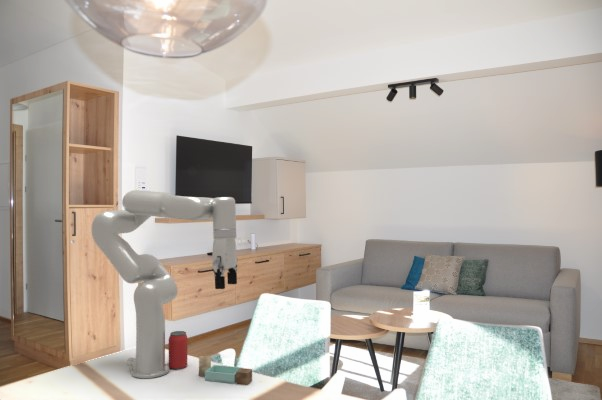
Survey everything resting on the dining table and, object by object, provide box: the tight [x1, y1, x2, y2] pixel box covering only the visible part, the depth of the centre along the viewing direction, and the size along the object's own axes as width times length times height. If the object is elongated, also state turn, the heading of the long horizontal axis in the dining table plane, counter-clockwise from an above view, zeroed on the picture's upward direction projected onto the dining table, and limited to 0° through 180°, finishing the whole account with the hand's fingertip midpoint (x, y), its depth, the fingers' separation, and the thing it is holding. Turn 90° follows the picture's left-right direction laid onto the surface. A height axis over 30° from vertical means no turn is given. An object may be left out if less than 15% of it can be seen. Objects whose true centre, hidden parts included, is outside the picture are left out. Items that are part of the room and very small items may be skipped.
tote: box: [204, 364, 243, 385], centre depth 162 cm, size 10×7×3 cm, turn 75°
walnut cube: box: [235, 367, 253, 386], centre depth 159 cm, size 4×4×4 cm
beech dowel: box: [198, 355, 212, 378], centre depth 166 cm, size 4×4×6 cm
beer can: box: [168, 330, 189, 370], centre depth 174 cm, size 7×7×12 cm
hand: (226, 286), depth 161 cm, fingers open, 9 cm apart
